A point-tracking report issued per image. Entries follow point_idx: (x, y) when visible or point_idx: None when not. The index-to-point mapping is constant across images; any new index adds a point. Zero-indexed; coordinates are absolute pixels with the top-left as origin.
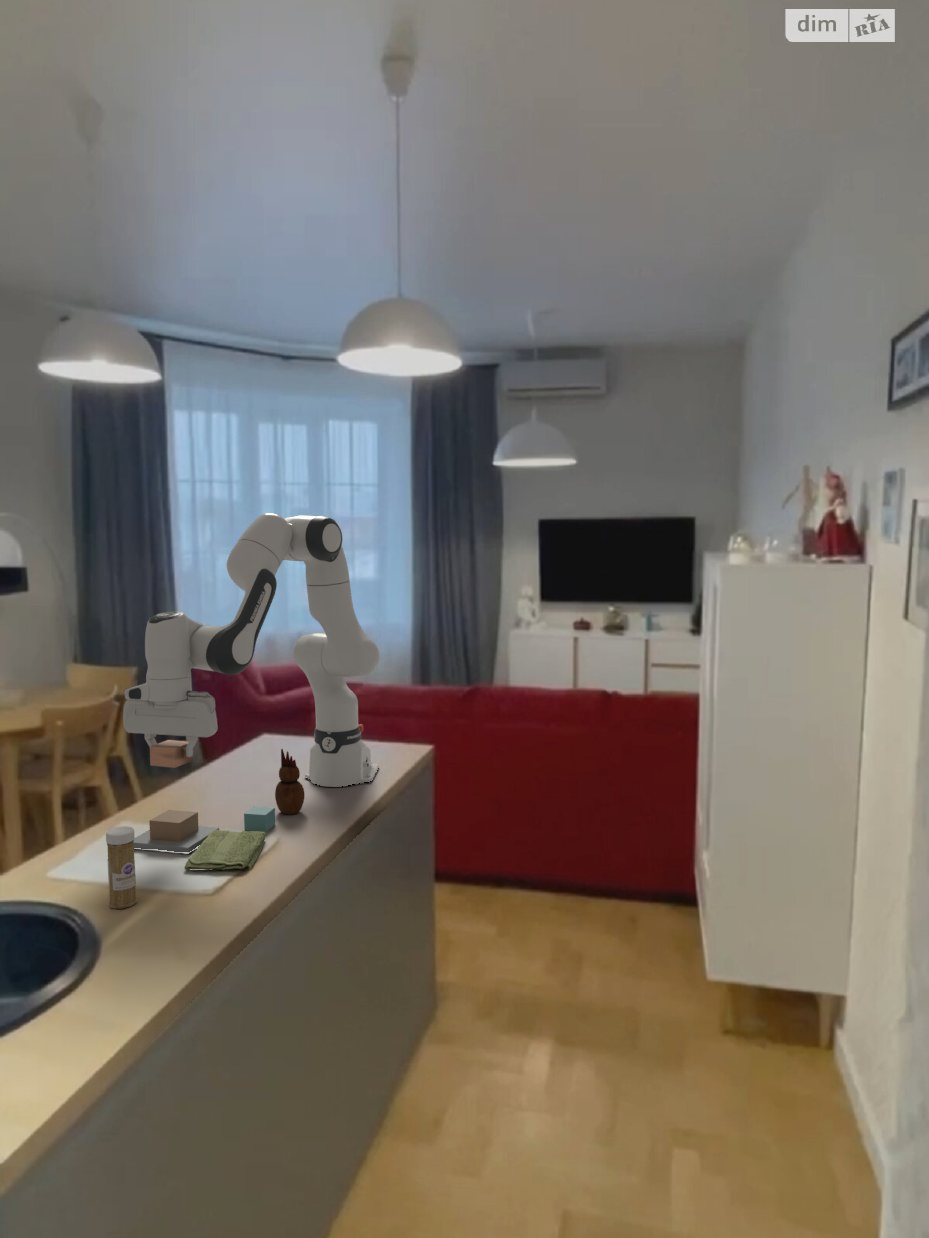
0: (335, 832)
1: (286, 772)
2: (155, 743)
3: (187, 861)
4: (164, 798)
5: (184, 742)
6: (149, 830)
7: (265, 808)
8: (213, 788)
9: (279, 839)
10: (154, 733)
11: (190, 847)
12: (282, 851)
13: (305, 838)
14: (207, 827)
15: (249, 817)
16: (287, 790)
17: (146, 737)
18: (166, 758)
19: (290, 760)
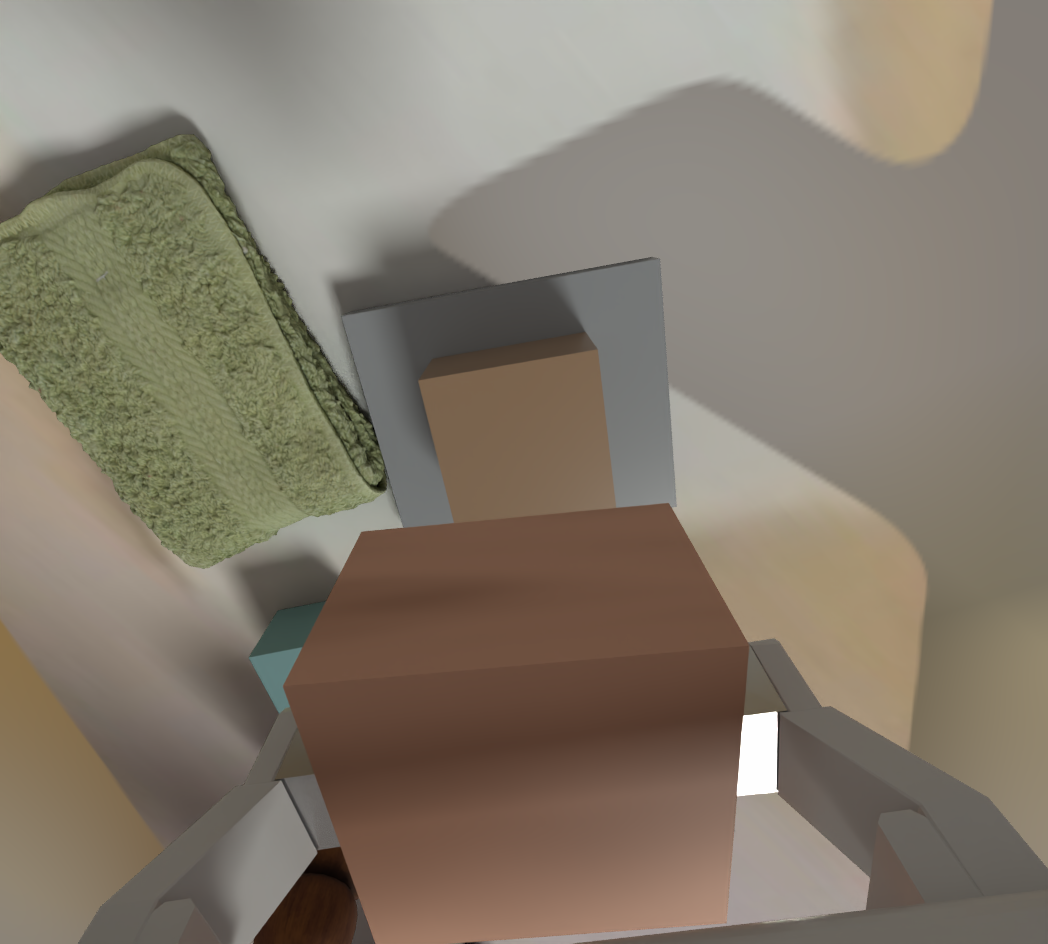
0: (66, 688)
1: (278, 921)
2: (800, 793)
3: (206, 174)
4: (873, 725)
5: (439, 910)
6: (663, 414)
7: None
8: (760, 837)
9: (173, 575)
10: (804, 930)
11: (347, 332)
12: (58, 489)
13: (103, 614)
14: None
15: None
16: None
17: (965, 824)
18: (449, 572)
19: None
